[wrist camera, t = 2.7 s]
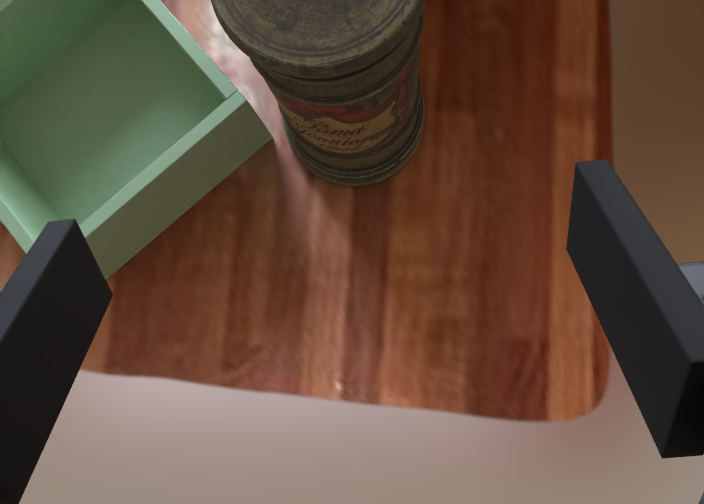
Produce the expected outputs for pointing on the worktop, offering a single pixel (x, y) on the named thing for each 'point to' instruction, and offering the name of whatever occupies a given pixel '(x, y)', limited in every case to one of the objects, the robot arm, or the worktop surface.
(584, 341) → the worktop surface
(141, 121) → the tub
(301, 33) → the container
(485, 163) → the worktop surface
